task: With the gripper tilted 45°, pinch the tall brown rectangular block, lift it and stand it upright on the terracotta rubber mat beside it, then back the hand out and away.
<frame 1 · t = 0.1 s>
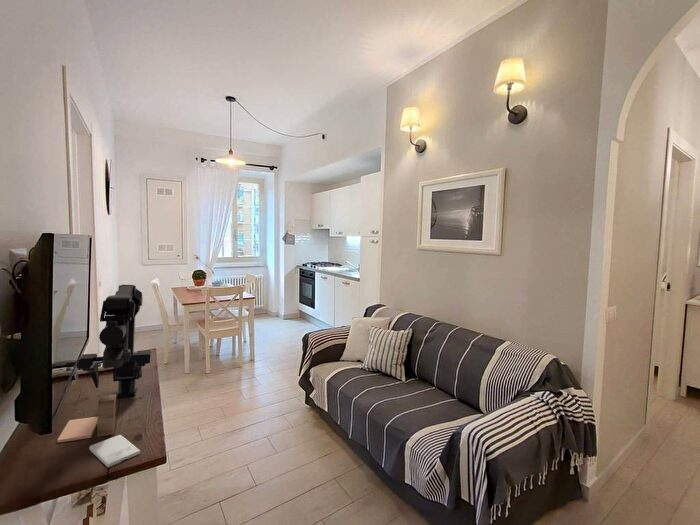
hand: (115, 385, 107), 15 cm above the table, tool pointing down, fingers open, 9 cm apart
brown rectangular block: (106, 432, 107), on the table
external hard drive: (114, 454, 98), on the table
terracotta mat: (79, 429, 107), on the table
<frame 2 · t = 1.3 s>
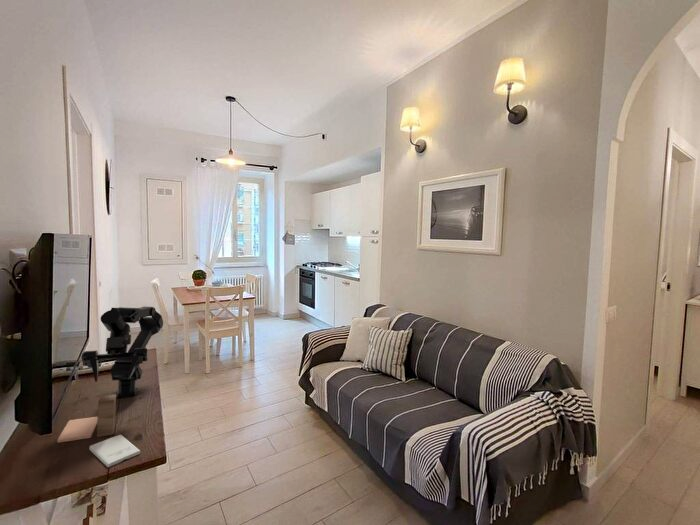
hand: (112, 379, 114), 13 cm above the table, tool tilted 45°, fingers open, 9 cm apart
nothing on the table moved.
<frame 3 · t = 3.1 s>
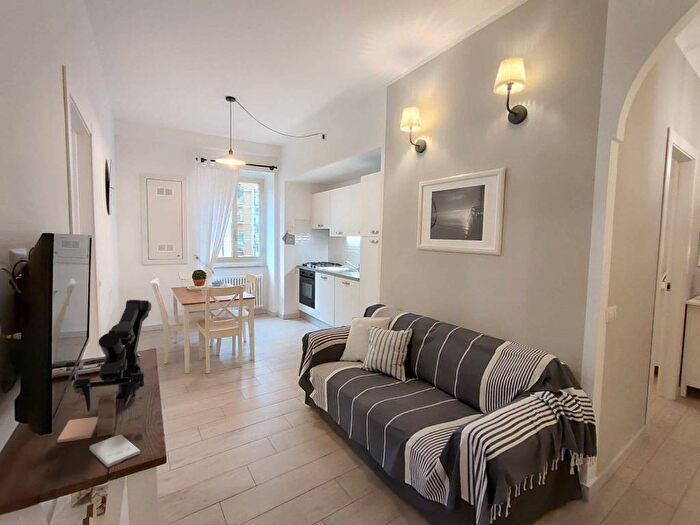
hand: (106, 409, 106), 8 cm above the table, tool tilted 45°, fingers open, 9 cm apart
nothing on the table moved.
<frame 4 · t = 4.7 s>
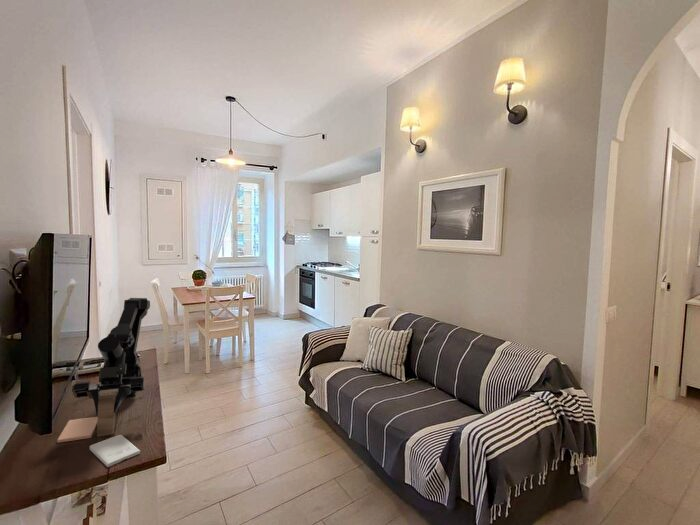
hand: (106, 413, 105), 7 cm above the table, tool tilted 45°, fingers closed on brown rectangular block, 4 cm apart
brown rectangular block: (106, 432, 107), on the table, touching gripper
everything else where it was.
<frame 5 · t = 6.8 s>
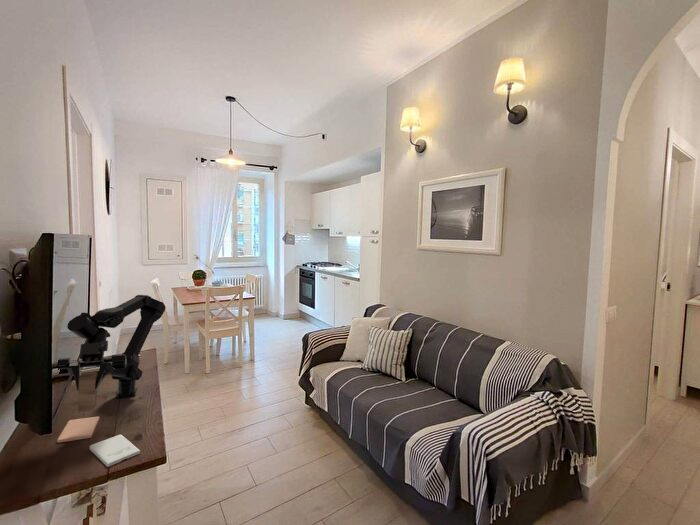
hand: (87, 389, 105), 14 cm above the table, tool tilted 45°, fingers closed on brown rectangular block, 4 cm apart
brown rectangular block: (87, 408, 107), point 7 cm above the table, touching gripper
everything else where it was.
when the fingers open (8 cm above the table, at t = 8.9 s): brown rectangular block stays where it is, resting on terracotta mat.
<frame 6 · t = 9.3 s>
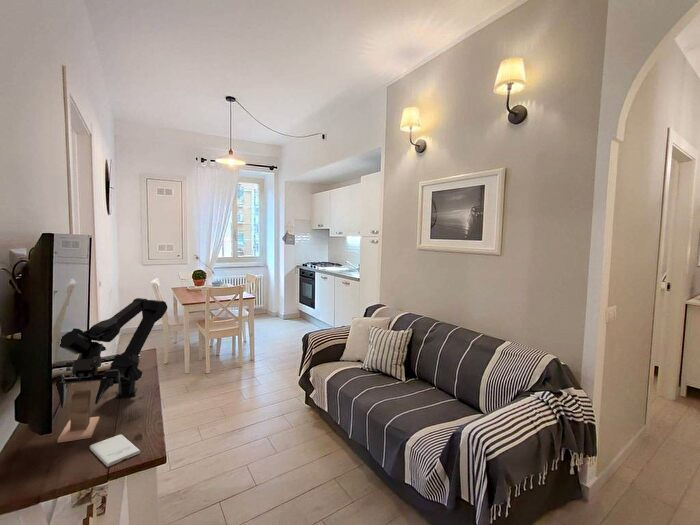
hand: (79, 405, 105), 8 cm above the table, tool tilted 45°, fingers open, 8 cm apart
brown rectangular block: (80, 427, 107), point 1 cm above the table, touching terracotta mat
everything else where it was.
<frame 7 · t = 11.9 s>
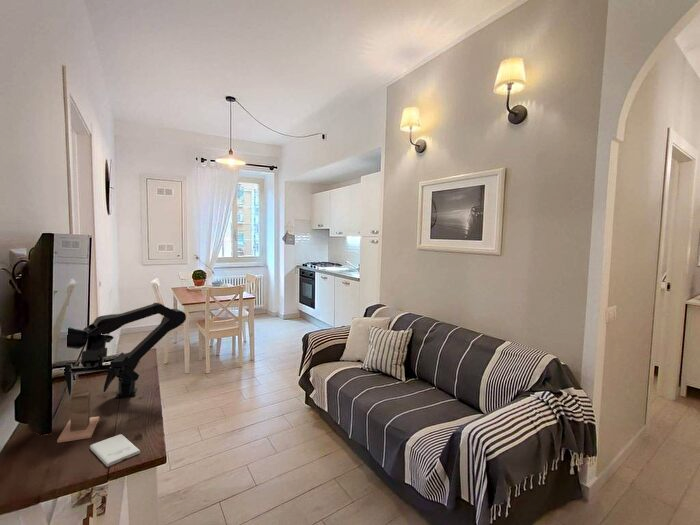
hand: (87, 393, 113), 8 cm above the table, tool tilted 45°, fingers open, 9 cm apart
nothing on the table moved.
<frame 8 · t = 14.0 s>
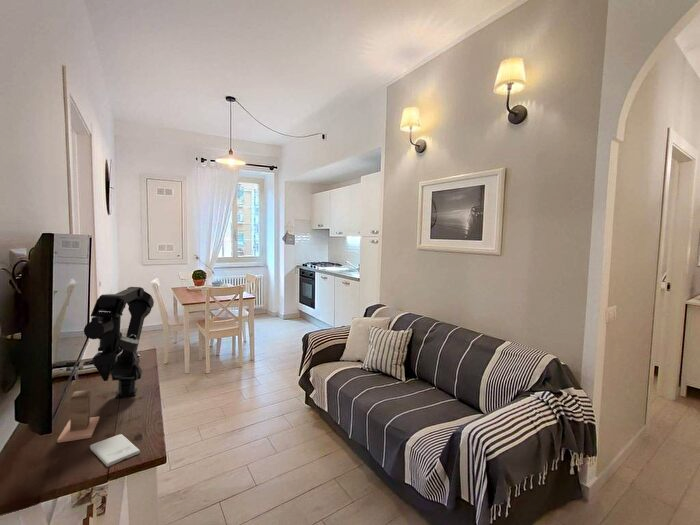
hand: (108, 375, 118), 13 cm above the table, tool pointing down, fingers open, 9 cm apart
nothing on the table moved.
at the end: brown rectangular block inside the target area on the terracotta mat (0.1 cm from its centre), point 0.8 cm above the terracotta mat's base; brown rectangular block tilted 0°; the gripper is holding nothing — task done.
